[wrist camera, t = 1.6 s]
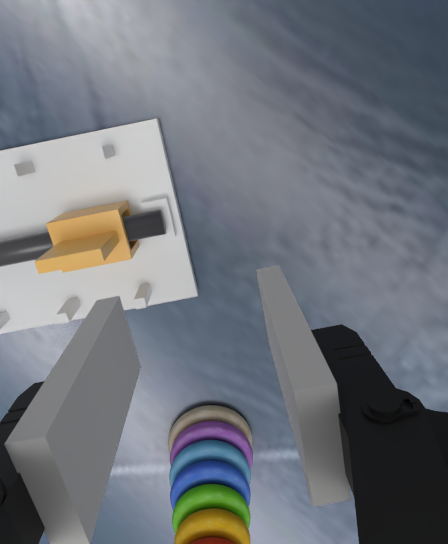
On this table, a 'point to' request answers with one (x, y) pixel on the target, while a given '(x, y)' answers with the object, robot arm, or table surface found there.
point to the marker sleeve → (88, 239)
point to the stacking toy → (210, 476)
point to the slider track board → (81, 195)
